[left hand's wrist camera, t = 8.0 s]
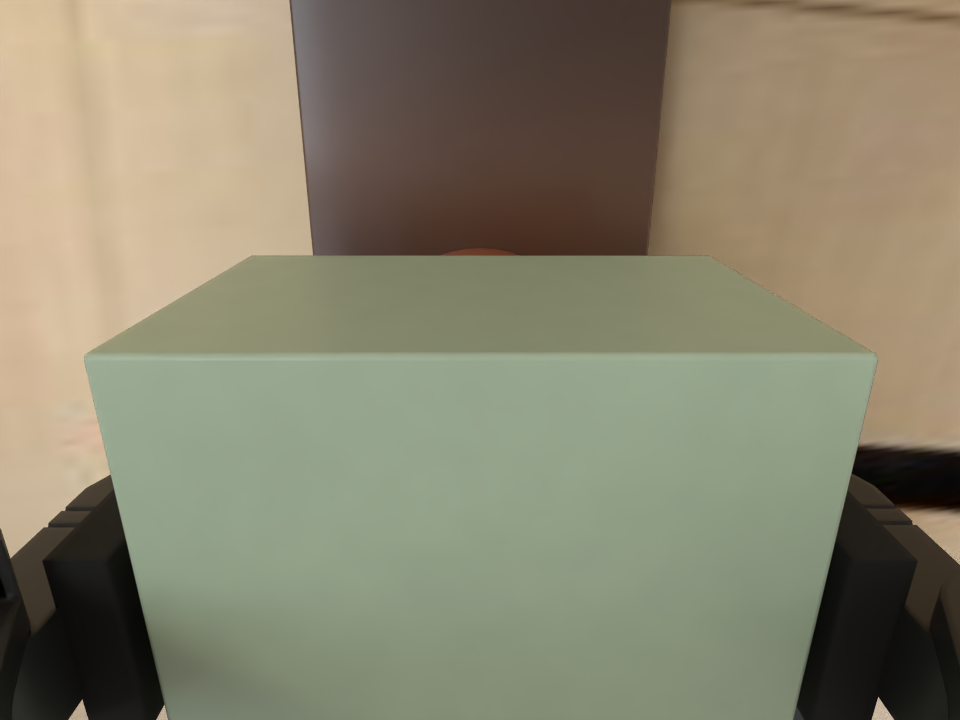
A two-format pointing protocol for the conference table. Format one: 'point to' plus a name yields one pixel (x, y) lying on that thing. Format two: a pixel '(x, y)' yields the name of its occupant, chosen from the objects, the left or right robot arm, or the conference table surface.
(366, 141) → the stand
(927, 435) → the conference table surface
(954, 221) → the conference table surface
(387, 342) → the pale green block
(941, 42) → the conference table surface
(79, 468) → the conference table surface
